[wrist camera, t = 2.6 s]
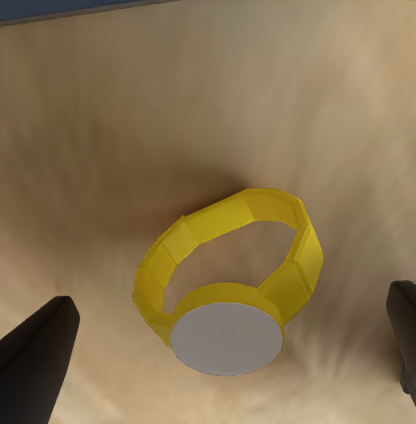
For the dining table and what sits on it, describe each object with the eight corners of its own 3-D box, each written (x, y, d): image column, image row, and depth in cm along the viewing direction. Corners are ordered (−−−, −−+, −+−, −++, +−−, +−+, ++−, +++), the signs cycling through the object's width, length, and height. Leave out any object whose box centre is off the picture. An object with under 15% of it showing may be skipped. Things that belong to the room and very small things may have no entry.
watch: (175, 262, 14) (146, 399, 9) (141, 213, 13) (85, 343, 8) (307, 213, 13) (361, 350, 7) (283, 153, 11) (328, 268, 6)
